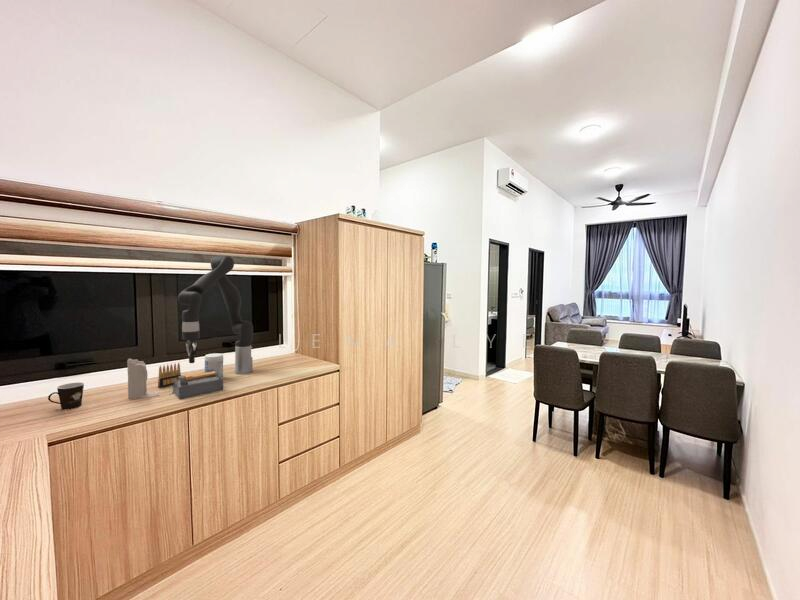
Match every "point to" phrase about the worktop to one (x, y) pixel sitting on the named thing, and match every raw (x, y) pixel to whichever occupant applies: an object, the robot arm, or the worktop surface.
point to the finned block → (197, 385)
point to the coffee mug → (69, 395)
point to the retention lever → (199, 375)
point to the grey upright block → (138, 380)
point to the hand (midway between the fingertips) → (191, 362)
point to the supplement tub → (214, 363)
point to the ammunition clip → (168, 375)
